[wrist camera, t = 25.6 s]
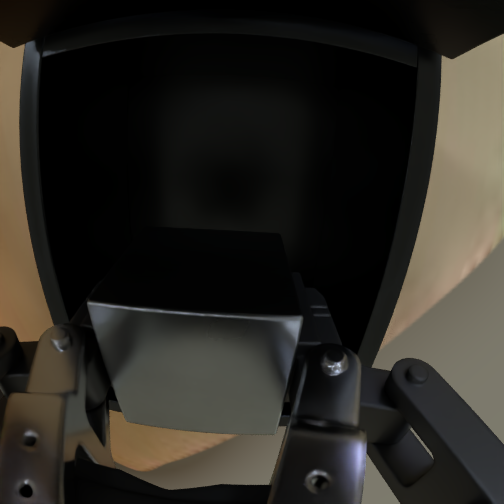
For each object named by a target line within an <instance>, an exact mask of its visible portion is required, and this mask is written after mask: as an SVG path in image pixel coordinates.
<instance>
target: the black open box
mask: <svg viewBox="0 0 504 504" xmlns="http://www.w3.org/2000/svg"><path fill="white" fill-rule="evenodd" d="M441 59H442V55H440V54H438V53H436V52H433V51H431V50H428V49H426V48H423V47H420V46H418V45H415V44H412V43H409V42H407V41H404V40H401V39H398V38H395V37H391V36H388V35H385V34H382V33H378V32H375V31H371V30H368V29H364V28H360V27H356V26H352V25H347V24H343V23H338V22H334V21H329V20H323V19H318V18H312V17H306V16H299V15H292V14H283V13H274V12H263V11H248V10H185V11H171V12H160V13H150V14H142V15H135V16H128V17H122V18H117V19H111V20H106V21H101V22H97V23H92V24H88V25H84V26H80V27H76V28H72V29H68V30H65V31H61V32H58V33H55V34H51V35H48V36H45V37H42V38H39V39H36V40H34V41H31V42H28V43H25V49H24V56H23V65H22V75H21V89H20V117H19V129H20V157H21V171H22V182H23V191H24V199H25V207H26V214H27V220H28V226H29V231H30V237H31V242H32V247H33V251H34V256H35V260H36V265H37V269H38V273H39V277H40V281H41V284H42V288H43V291H44V295H45V298H46V302H47V305H48V308H49V311H50V314H51V317H52V320H53V323H54V326H55V325H58V324H63V323H69V322H70V320H71V319H72V317H73V316H74V314H75V313H76V312H77V310H78V309H79V307H80V306H81V305H82V303H83V302H84V300H86V298H87V296H88V295H89V293H91V291H92V289H93V288H94V287H95V285H96V284H97V283H98V282H99V281H101V280H102V279H104V277H105V276H106V275H107V273H108V272H109V271H110V269H111V268H112V267H113V265H114V264H115V263H116V262H117V260H118V259H119V258H120V256H121V255H122V254H123V253H124V251H125V250H126V249H127V248H128V246H129V245H130V244H131V243H132V241H133V240H134V239H135V238H136V236H137V235H138V234H139V233H140V232H141V230H142V229H143V228H144V227H146V226H148V227H171V228H193V229H213V230H231V231H249V232H266V233H279V234H281V237H282V241H283V245H284V248H285V252H286V255H287V259H288V263H289V266H290V270H291V272H297V273H300V274H301V277H302V281H303V284H304V287H307V288H315V289H316V290H317V291H319V292H320V293H321V294H322V295H323V296H324V298H325V300H326V303H327V306H328V308H329V311H330V313H331V317H332V319H333V321H334V324H335V326H336V329H337V332H338V334H339V337H340V340H341V343H342V345H343V346H345V347H347V348H349V349H350V350H352V351H353V352H354V353H355V354H356V355H357V356H358V358H359V359H360V362H361V365H364V366H367V367H372V365H373V362H374V360H375V358H376V355H377V353H378V351H379V348H380V346H381V343H382V341H383V338H384V336H385V333H386V331H387V328H388V325H389V323H390V320H391V317H392V315H393V312H394V309H395V306H396V303H397V300H398V298H399V295H400V292H401V289H402V285H403V282H404V279H405V276H406V273H407V269H408V266H409V263H410V259H411V256H412V252H413V249H414V245H415V241H416V237H417V234H418V230H419V226H420V221H421V217H422V213H423V208H424V204H425V199H426V194H427V189H428V184H429V179H430V173H431V167H432V161H433V155H434V148H435V140H436V133H437V124H438V114H439V102H440V88H441ZM107 397H108V399H109V410H113V411H118V412H122V410H121V408H120V405H119V403H118V400H117V398H116V395H115V393H114V390H113V387H111V386H110V387H109V390H108V393H107ZM290 413H291V408H290V402H284V406H283V410H282V414H281V418H280V422H279V425H278V426H287V423H288V419H289V416H290Z"/></svg>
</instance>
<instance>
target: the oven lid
mask: <svg viewBox="0 0 504 504" xmlns="http://www.w3.org/2000/svg"><path fill="white" fill-rule="evenodd" d="M185 10H248V11H263V12H274V13H283V14H292V15H299V16H306V17H312V18H318V19H323V20H329V21H334V22H338V23H343V24H347V25H352V26H356V27H360V28H364V29H368V30H371V31H375V32H378V33H382V34H385V35H388V36H391V37H395V38H398V39H401V40H404V41H407V42H409V43H412V44H415V45H418V46H420V47H423V48H426V49H428V50H431V51H433V52H436V53H438V54H440V55H443V56H445V57H447V58H450V59H454V58H456V57H458V56H460V55H462V54H464V53H466V52H468V51H469V50H471V49H473V48H475V47H477V46H479V45H481V44H483V43H485V42H487V41H489V40H491V39H493V38H496V37H498V36H500V35H502V34H504V0H0V41H1V42H3V43H5V44H6V45H8V46H10V47H12V48H15V47H18V46H20V45H23V44H25V43H28V42H31V41H34V40H36V39H39V38H42V37H45V36H48V35H51V34H55V33H58V32H61V31H65V30H68V29H72V28H76V27H80V26H84V25H88V24H92V23H97V22H101V21H106V20H111V19H117V18H122V17H128V16H135V15H142V14H150V13H160V12H171V11H185Z"/></svg>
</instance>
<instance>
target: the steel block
mask: <svg viewBox="0 0 504 504" xmlns="http://www.w3.org/2000/svg"><path fill="white" fill-rule="evenodd" d="M87 307H88V311H89V314H90V318H91V322H92V326H93V329H94V333H95V336H96V339H97V343H98V346H99V349H100V352H101V356H102V359H103V362H104V365H105V368H106V371H107V373H108V376H109V379H110V382H111V385H112V387H113V390H114V393H115V395H116V398H117V400H118V403H119V405H120V408H121V410H122V413H123V415H124V417H125V420H126V421H127V422H130V423H136V424H142V425H148V426H154V427H161V428H168V429H176V430H184V431H194V432H205V433H220V434H241V435H243V434H244V435H274V434H276V432H277V429H278V425H279V422H280V418H281V414H282V410H283V406H284V402H285V398H286V394H287V390H288V386H289V382H290V378H291V374H292V369H293V365H294V361H295V356H296V352H297V347H298V343H299V338H300V333H301V329H302V324H303V315H302V311H301V307H300V303H299V299H298V296H297V292H296V288H295V285H294V281H293V277H292V273H291V270H290V266H289V263H288V259H287V255H286V252H285V248H284V245H283V241H282V237H281V234H279V233H266V232H249V231H231V230H213V229H193V228H171V227H148V226H146V227H144V228H143V229H142V230H141V232H140V233H139V234H138V235H137V236H136V238H135V239H134V240H133V241H132V243H131V244H130V245H129V246H128V248H127V249H126V250H125V251H124V253H123V254H122V255H121V256H120V258H119V259H118V260H117V262H116V263H115V264H114V265H113V267H112V268H111V269H110V271H109V272H108V273H107V275H106V276H105V277H104V279H103V280H102V281H101V283H100V284H99V285H98V287H97V288H96V289H95V291H94V292H93V294H92V295H91V296H90V298H89V299H88V301H87Z"/></svg>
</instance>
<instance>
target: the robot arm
mask: <svg viewBox="0 0 504 504" xmlns="http://www.w3.org/2000/svg"><path fill="white" fill-rule="evenodd" d="M291 273H292V277H293V281H294V285H295V288H296V292H297V296H298V299H299V303H300V307H301V311H302V315H303V324H302V329H301V333H300V338H299V343H298V347H297V352H296V356H295V361H294V365H293V369H292V374H291V378H290V382H289V386H288V390H287V394H286V398H285V402H290V408H291V413H290V416H289V419H288V423H287V427H286V430H285V434H284V438H283V441H282V445H281V448H280V452H279V455H278V459H277V462H276V465H275V468H274V471H273V474H272V477H271V481H270V483H269V485H230V484H229V485H228V484H219V485H212V486H205V487H197V488H189V489H177V490H168V489H163V488H160V487H158V486H156V485H153V484H151V483H148V482H146V481H144V480H141V479H139V478H137V477H135V476H133V475H130V474H128V473H126V472H124V471H122V470H120V469H116V467H115V464H114V461H113V458H112V454H111V443H110V418H109V399H108V397H107V393H108V390H109V387H110V386H111V387H112V385H111V382H110V379H109V376H108V373H107V371H106V368H105V365H104V362H103V359H102V356H101V352H100V349H99V346H98V343H97V339H96V336H95V333H94V329H93V326H92V322H91V318H90V314H89V311H88V307H87V301H88V299H89V298H90V296H91V295H92V294H93V292H94V291H95V289H96V288H97V287H98V285H99V284H100V283H101V281H102V280H103V279H102V280H101V281H99V282H98V283H97V284H96V285H95V287H94V288H93V289H92V291H91V293H89V295H88V296H87V298H86V300H84V302H83V303H82V305H81V306H80V307H79V309H78V310H77V312H76V313H75V314H74V316H73V317H72V319H71V320H70V322H69V323H63V324H58V325H55V326H52V327H50V328H49V329H47V330H46V331H45V332H44V333H43V334H42V335H41V337H40V339H39V341H32V342H19V340H18V338H17V335H16V333H15V331H14V330H13V329H11V328H9V327H0V389H1V391H2V392H3V394H4V396H3V397H2V398H1V399H0V504H361V502H362V494H363V485H364V475H365V463H366V453H367V454H368V456H369V457H370V459H371V460H372V462H373V463H374V465H375V466H376V468H377V469H378V471H379V472H380V474H381V475H382V477H383V478H384V480H385V481H386V483H387V484H388V486H389V487H390V489H391V490H392V492H393V493H394V495H395V496H396V498H397V499H398V501H399V502H400V504H504V444H503V443H502V442H501V441H500V440H499V439H498V437H497V436H496V435H495V434H494V433H493V432H492V431H491V430H490V428H488V426H487V425H486V424H485V423H484V422H483V421H482V420H481V419H480V417H479V416H478V415H477V414H476V413H475V412H474V411H473V410H472V409H471V407H470V406H469V405H468V404H467V403H466V402H465V401H464V400H463V399H462V398H461V397H460V396H459V395H458V394H457V392H455V390H454V389H453V388H452V387H451V386H450V385H449V384H448V383H447V382H446V381H445V380H444V379H443V378H442V377H441V376H440V375H439V373H438V372H437V371H436V370H435V369H434V368H433V367H431V366H430V365H429V364H427V363H426V362H424V361H422V360H419V359H414V358H405V359H401V360H399V361H397V362H396V363H395V364H394V366H393V368H392V370H391V371H388V370H382V369H376V368H371V367H367V366H364V365H361V362H360V359H359V358H358V356H357V355H356V354H355V353H354V352H353V351H352V350H350V349H349V348H347V347H345V346H343V345H342V343H341V340H340V337H339V334H338V332H337V329H336V326H335V324H334V321H333V319H332V317H331V313H330V311H329V308H328V306H327V303H326V300H325V298H324V296H323V295H322V294H321V293H320V292H319V291H317V290H316V289H315V288H307V287H304V284H303V281H302V277H301V274H300V273H297V272H291ZM411 427H412V428H413V430H414V431H415V432H416V433H417V435H418V436H419V437H420V439H421V440H422V441H423V442H424V444H425V445H426V446H427V447H428V449H429V450H430V451H431V452H432V455H433V458H434V460H433V458H432V457H431V456H430V454H429V453H428V452H427V451H426V449H425V448H424V447H423V445H422V444H421V443H420V441H419V440H418V439H417V438H416V436H415V435H414V434H413V433H412V431H411V430H410V428H411Z"/></svg>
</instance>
